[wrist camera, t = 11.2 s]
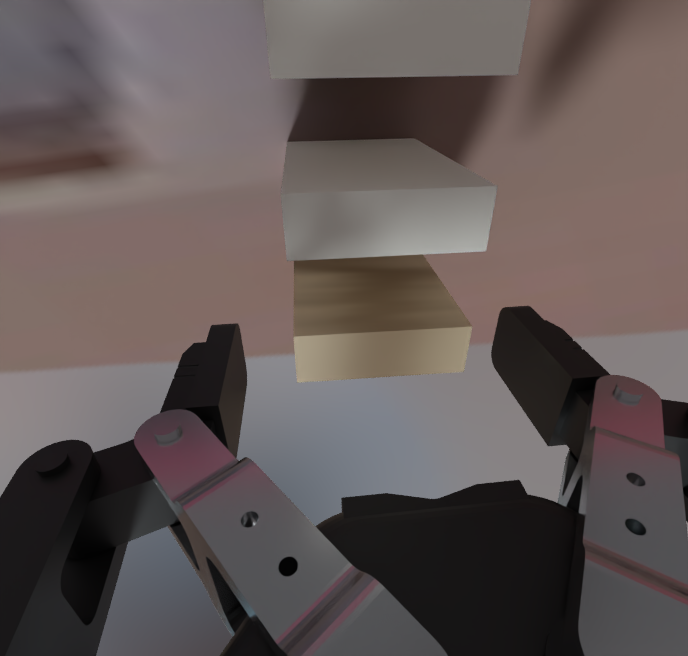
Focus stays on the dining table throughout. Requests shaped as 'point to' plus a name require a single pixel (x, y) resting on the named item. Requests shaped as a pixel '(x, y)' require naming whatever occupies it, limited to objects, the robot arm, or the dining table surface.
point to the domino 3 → (375, 319)
